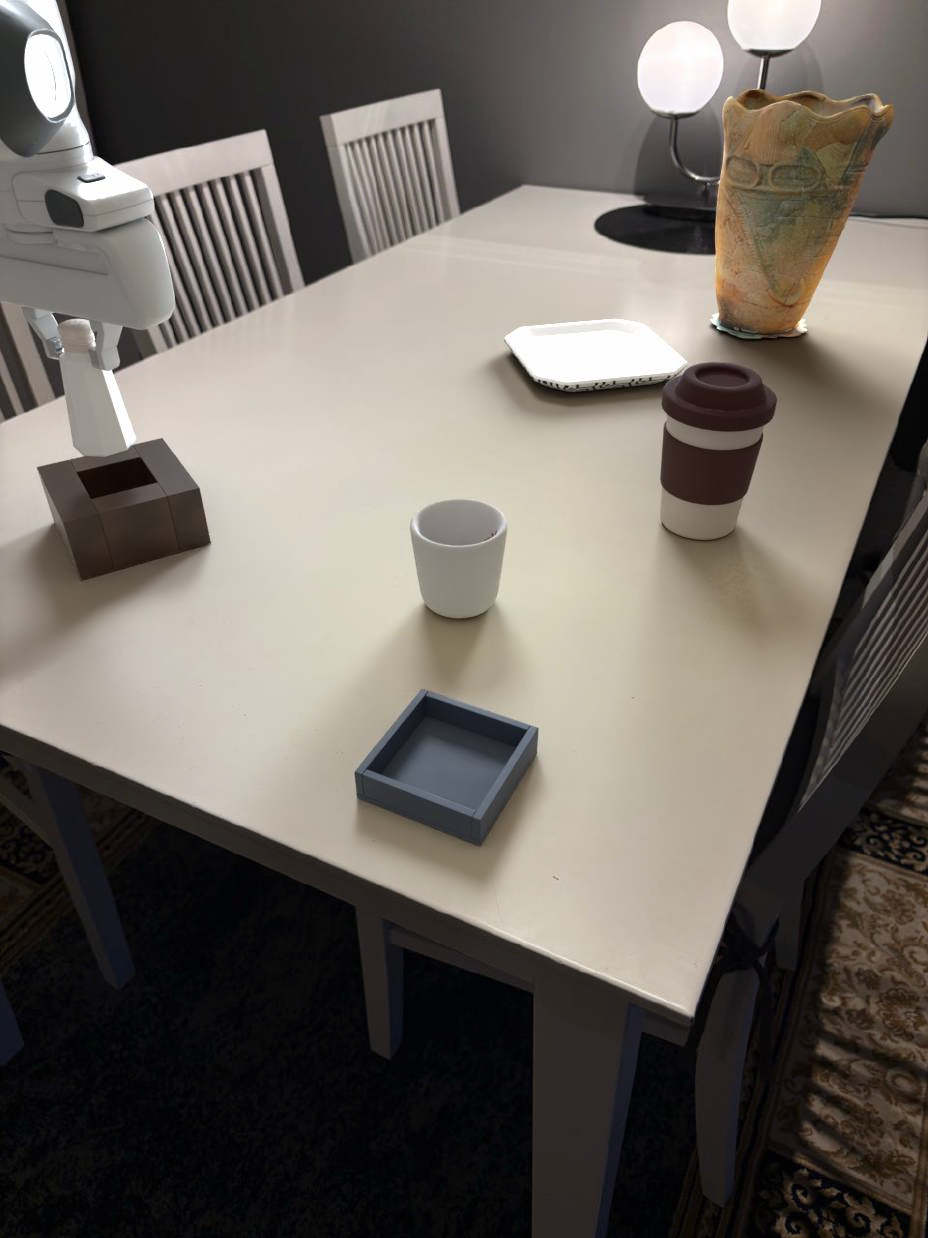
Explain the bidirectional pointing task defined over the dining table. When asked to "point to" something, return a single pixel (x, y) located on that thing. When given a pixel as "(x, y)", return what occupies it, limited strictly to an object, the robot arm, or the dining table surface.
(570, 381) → the plate
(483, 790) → the tray
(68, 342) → the pepper shaker
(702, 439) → the coffee cup
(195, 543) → the holder
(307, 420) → the dining table surface
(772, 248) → the vase
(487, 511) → the cup
